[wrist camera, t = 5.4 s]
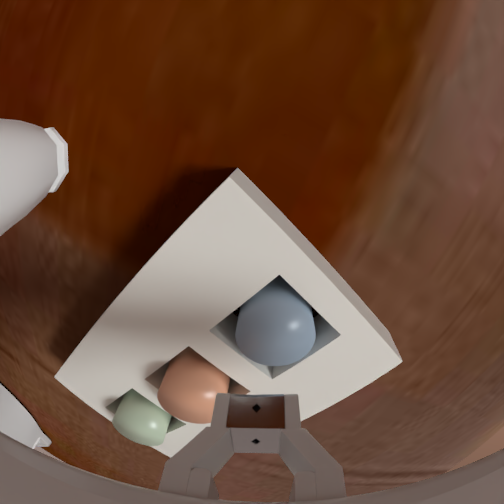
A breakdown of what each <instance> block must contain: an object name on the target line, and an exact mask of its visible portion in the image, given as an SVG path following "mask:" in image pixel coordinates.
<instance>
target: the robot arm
mask: <svg viewBox="0 0 504 504" xmlns="http://www.w3.org/2000/svg"><path fill="white" fill-rule="evenodd" d="M50 444H51V441H50V439H49V438H48V437H47V436H46V435H45V434H44V433H43V432H42V431H41V429H40V428H39V426H38V424H37V423H36V421H35V420H34V419H33V417H32V416H31V415H30V414H29V412H28V411H27V410H26V409H25V408H24V407H23V406H22V405H21V403H20V402H19V401H18V400H17V399H16V398H15V397H14V396H13V395H12V394H11V393H10V392H9V391H8V390H7V389H6V388H5V387H3V386H2V385H1V384H0V504H504V449H502V450H500V451H497V452H496V453H493V454H491V455H489V456H487V457H485V458H482V459H480V460H478V461H475V462H473V463H471V464H468V465H466V466H463V467H460V468H458V469H455V470H453V471H450V472H447V473H444V474H441V475H438V476H435V477H432V478H429V479H425V480H422V481H419V482H415V483H411V484H408V485H404V486H400V487H396V488H391V489H387V490H382V491H377V492H372V493H367V494H361V495H355V496H348V497H346V490H345V483H344V475H343V469H342V466H341V465H340V464H339V463H338V462H337V461H336V460H335V459H334V458H333V457H332V456H331V455H330V454H329V453H328V452H327V451H326V450H325V449H324V448H323V447H322V446H321V445H320V444H319V443H318V442H317V441H316V440H315V439H314V437H313V436H312V435H311V434H310V433H309V432H308V431H307V430H306V429H305V428H301V421H300V409H299V397H298V394H261V395H247V394H229V393H217V395H216V398H215V404H214V409H213V415H212V420H211V426H210V427H207V426H206V427H205V428H204V429H203V430H202V431H201V432H200V433H199V434H198V435H197V436H195V437H194V438H193V439H192V440H191V441H190V442H189V443H188V444H186V445H185V446H184V447H183V448H182V449H181V450H180V451H178V452H177V453H176V454H175V455H174V456H173V457H171V458H170V459H169V460H168V461H167V462H166V463H165V467H164V471H163V474H162V478H161V482H160V486H159V489H158V491H156V490H151V489H147V488H143V487H138V486H134V485H130V484H127V483H123V482H119V481H116V480H112V479H109V478H106V477H103V476H99V475H96V474H93V473H90V472H88V471H85V470H82V469H79V468H77V467H74V466H71V465H69V464H66V463H64V462H61V461H59V460H57V459H54V458H52V457H50V456H47V455H45V454H43V453H41V452H39V451H36V450H34V448H35V447H48V446H49V445H50ZM234 452H238V453H279V455H280V457H281V458H282V460H283V461H284V462H285V464H286V465H287V467H288V468H289V469H290V471H291V472H292V473H293V475H294V480H293V484H292V488H291V492H290V496H289V502H243V501H227V500H219V494H218V491H217V488H216V485H215V482H214V479H213V477H214V476H215V475H216V474H217V473H218V472H219V470H220V469H221V468H222V467H223V466H224V465H225V464H226V462H227V461H228V460H229V459H230V458H231V456H232V455H233V454H234Z"/></svg>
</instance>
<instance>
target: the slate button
mask: <svg viewBox="0 0 504 504" xmlns="http://www.w3.org/2000/svg"><path fill="white" fill-rule="evenodd" d="M315 337H316V332H315V326H314V320H313V314H312V309H311V305H310V304H309V303H308V302H307V301H306V300H305V299H304V298H303V297H302V296H301V295H300V294H299V293H298V292H297V291H296V290H295V289H294V288H293V287H292V286H291V285H290V284H289V283H288V282H286V281H285V280H284V279H283V278H282V277H281V276H280V275H278V276H277V277H276V278H275V279H273V280H272V281H271V282H270V283H268V284H267V285H266V286H265V287H263V288H262V289H261V290H260V291H258V292H257V293H256V294H255V295H253V296H252V297H251V298H250V299H248V300H247V301H246V302H245V303H243V304H242V305H241V306H240V310H239V316H238V321H237V327H236V333H235V338H236V343H237V345H238V348H239V349H240V351H241V352H242V353H243V354H244V355H245V356H246V357H247V358H249V359H250V360H252V361H254V362H256V363H259V364H262V365H267V366H284V365H288V364H291V363H294V362H296V361H298V360H300V359H302V358H303V357H304V356H305V355H307V354H308V353H309V351H310V350H311V349H312V347H313V345H314V342H315Z"/></svg>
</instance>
